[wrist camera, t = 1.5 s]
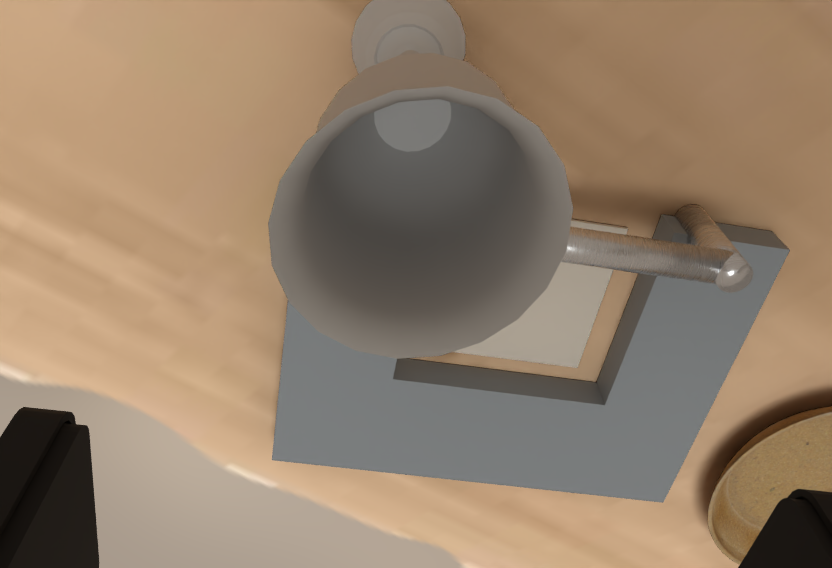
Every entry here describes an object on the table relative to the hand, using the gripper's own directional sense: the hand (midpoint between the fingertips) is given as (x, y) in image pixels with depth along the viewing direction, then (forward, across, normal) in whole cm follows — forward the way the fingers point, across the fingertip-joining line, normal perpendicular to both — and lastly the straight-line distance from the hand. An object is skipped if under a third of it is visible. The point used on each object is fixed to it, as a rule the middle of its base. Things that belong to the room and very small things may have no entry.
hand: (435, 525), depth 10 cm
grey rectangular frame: (+26, -8, +15) cm, 31 cm away
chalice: (+26, 0, 0) cm, 27 cm away
